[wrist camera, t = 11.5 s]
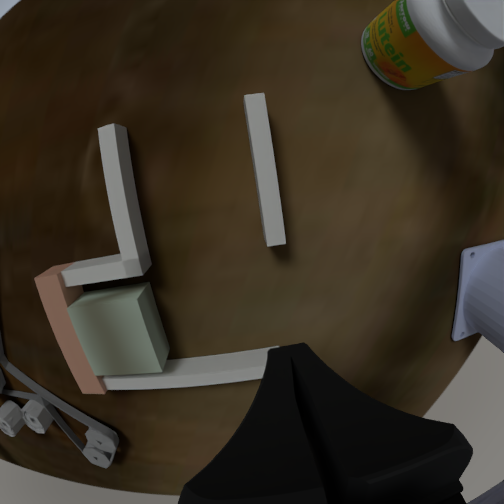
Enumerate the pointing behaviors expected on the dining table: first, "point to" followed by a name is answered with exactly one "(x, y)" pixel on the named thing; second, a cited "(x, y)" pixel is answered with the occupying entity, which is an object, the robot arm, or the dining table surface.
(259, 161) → the channel
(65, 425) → the pulley system
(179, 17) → the dining table surface
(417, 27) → the supplement bottle
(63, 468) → the dining table surface
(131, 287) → the block
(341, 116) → the dining table surface
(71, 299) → the block
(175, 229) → the dining table surface
